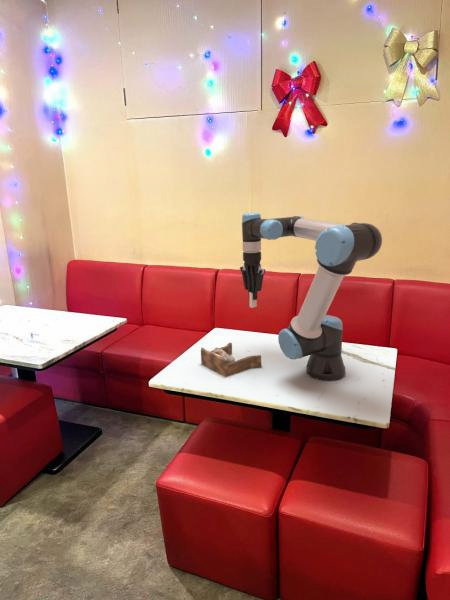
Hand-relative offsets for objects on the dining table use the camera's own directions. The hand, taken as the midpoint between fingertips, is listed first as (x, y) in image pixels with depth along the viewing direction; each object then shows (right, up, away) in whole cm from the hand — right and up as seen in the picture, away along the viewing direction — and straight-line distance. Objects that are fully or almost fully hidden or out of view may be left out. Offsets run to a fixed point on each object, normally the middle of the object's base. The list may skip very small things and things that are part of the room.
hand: (253, 306), depth 181 cm
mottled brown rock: (-10, -25, -3) cm, 27 cm away
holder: (-10, -24, -3) cm, 26 cm away
